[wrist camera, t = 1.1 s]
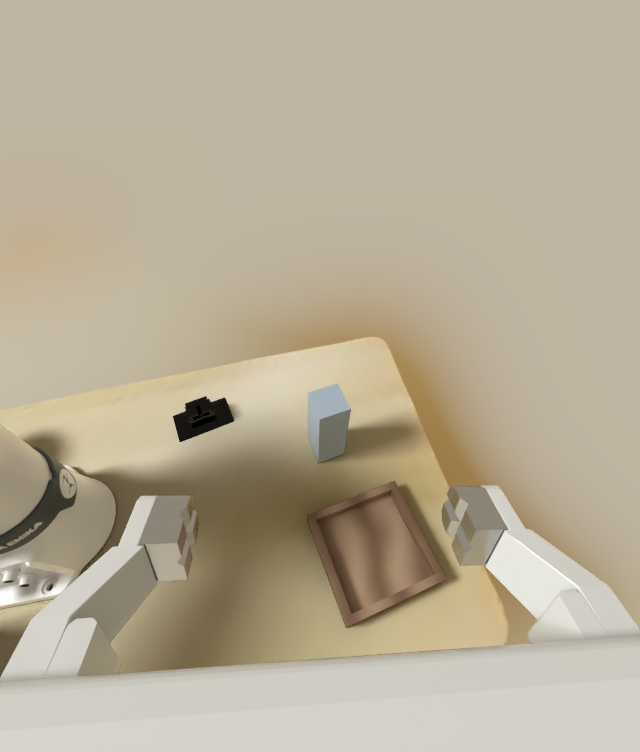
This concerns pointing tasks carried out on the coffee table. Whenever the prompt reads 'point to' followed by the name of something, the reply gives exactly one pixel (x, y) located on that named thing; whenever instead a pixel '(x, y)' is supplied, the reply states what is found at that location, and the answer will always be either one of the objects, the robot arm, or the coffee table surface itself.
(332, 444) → the block
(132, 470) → the coffee table surface
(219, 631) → the coffee table surface
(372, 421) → the coffee table surface
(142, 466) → the coffee table surface
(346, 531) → the tray
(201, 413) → the black bracket mount
